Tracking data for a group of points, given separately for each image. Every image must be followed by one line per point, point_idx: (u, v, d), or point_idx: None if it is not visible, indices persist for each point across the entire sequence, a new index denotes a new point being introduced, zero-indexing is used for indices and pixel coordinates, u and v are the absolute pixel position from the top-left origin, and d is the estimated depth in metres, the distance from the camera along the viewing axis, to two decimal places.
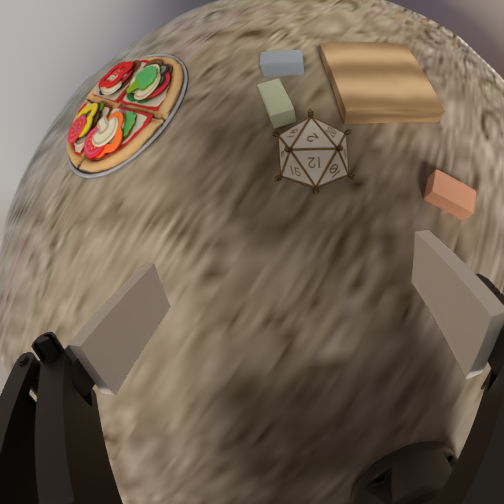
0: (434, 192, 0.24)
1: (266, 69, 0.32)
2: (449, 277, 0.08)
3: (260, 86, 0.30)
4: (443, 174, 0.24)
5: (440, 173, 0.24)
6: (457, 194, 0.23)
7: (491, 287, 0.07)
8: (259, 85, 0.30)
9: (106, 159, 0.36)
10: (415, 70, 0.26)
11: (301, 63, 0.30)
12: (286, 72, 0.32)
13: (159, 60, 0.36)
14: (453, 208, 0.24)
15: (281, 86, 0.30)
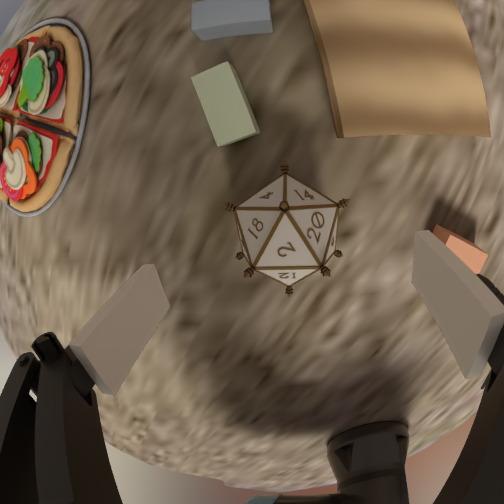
0: None
1: (205, 33, 0.16)
2: (449, 277, 0.08)
3: (197, 81, 0.17)
4: (456, 240, 0.18)
5: (453, 240, 0.18)
6: None
7: (491, 287, 0.07)
8: (195, 79, 0.17)
9: (31, 201, 0.24)
10: (464, 52, 0.11)
11: (267, 21, 0.14)
12: (241, 32, 0.16)
13: (46, 39, 0.15)
14: None
15: (233, 80, 0.17)
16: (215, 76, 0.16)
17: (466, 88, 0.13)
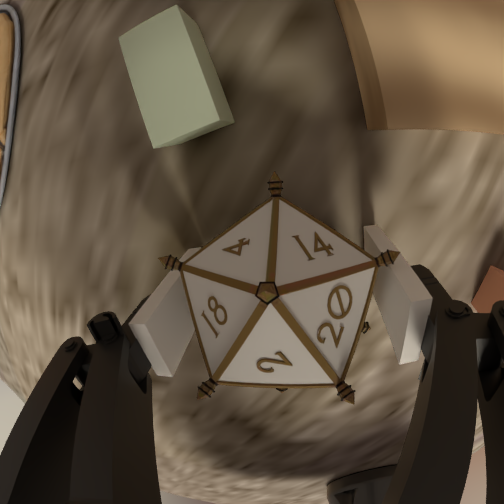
0: None
1: None
2: (384, 267, 0.09)
3: (127, 42, 0.08)
4: None
5: None
6: None
7: (430, 277, 0.08)
8: (124, 39, 0.08)
9: None
10: None
11: None
12: None
13: None
14: None
15: (182, 32, 0.08)
16: (154, 30, 0.08)
17: None
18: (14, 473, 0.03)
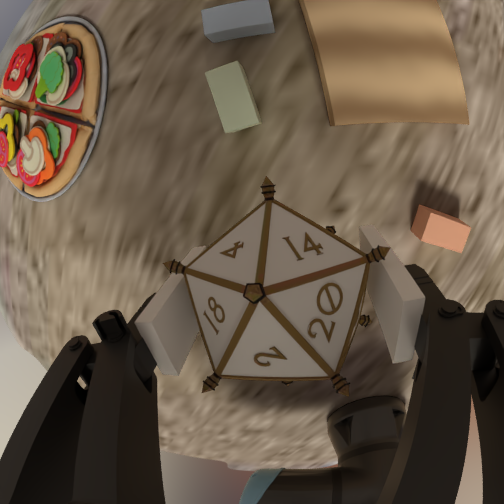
0: (423, 241, 0.23)
1: (216, 36, 0.19)
2: (378, 266, 0.10)
3: (210, 76, 0.19)
4: (438, 217, 0.21)
5: (434, 217, 0.22)
6: (448, 237, 0.22)
7: (424, 277, 0.09)
8: (208, 74, 0.19)
9: (48, 186, 0.27)
10: (445, 49, 0.14)
11: (270, 23, 0.17)
12: (247, 34, 0.19)
13: (62, 35, 0.17)
14: None
15: (241, 77, 0.19)
16: (226, 73, 0.19)
17: (445, 81, 0.16)
18: (16, 473, 0.03)
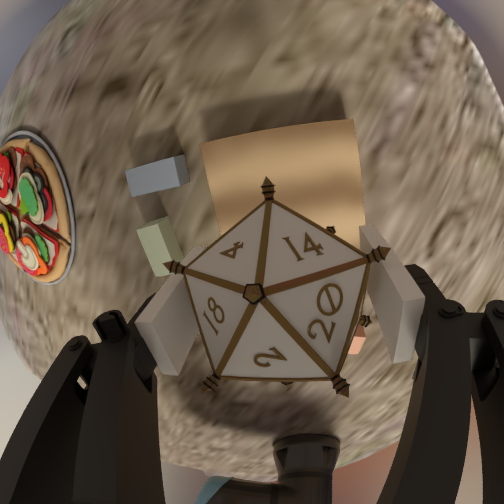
0: None
1: None
2: (378, 266, 0.10)
3: (140, 234, 0.28)
4: None
5: None
6: None
7: (424, 277, 0.09)
8: (138, 232, 0.28)
9: (44, 277, 0.36)
10: (349, 190, 0.23)
11: None
12: None
13: (29, 160, 0.27)
14: None
15: (161, 238, 0.28)
16: (150, 233, 0.28)
17: (342, 227, 0.25)
18: (16, 473, 0.03)
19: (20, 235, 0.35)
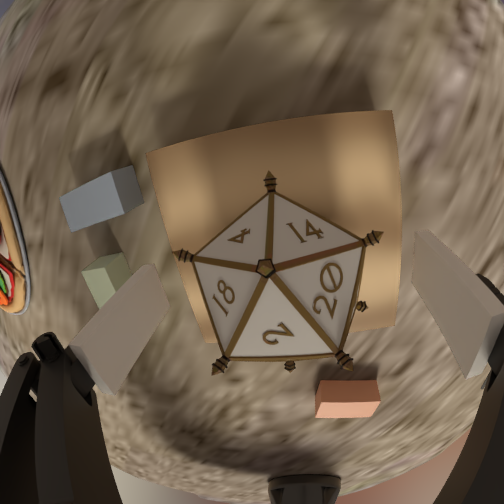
0: (319, 417, 0.23)
1: None
2: (449, 277, 0.08)
3: (86, 277, 0.19)
4: (331, 403, 0.22)
5: (327, 404, 0.22)
6: (349, 412, 0.22)
7: (491, 287, 0.07)
8: (84, 274, 0.19)
9: (7, 308, 0.27)
10: (382, 227, 0.14)
11: (124, 213, 0.17)
12: None
13: None
14: None
15: (111, 286, 0.19)
16: (98, 278, 0.19)
17: (367, 281, 0.16)
18: None
19: None
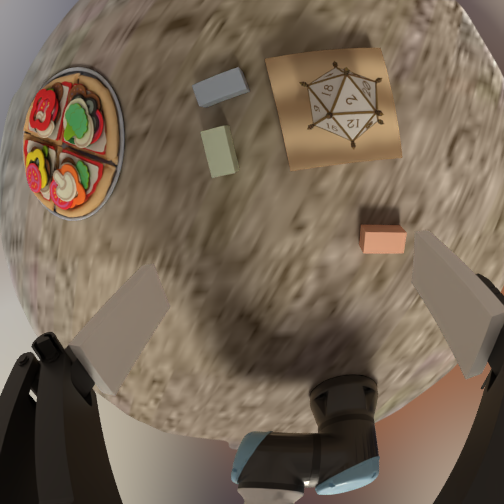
0: None
1: (207, 104, 0.30)
2: (449, 277, 0.08)
3: (204, 135, 0.30)
4: (373, 234, 0.33)
5: (370, 234, 0.33)
6: (386, 245, 0.33)
7: (491, 287, 0.07)
8: (202, 133, 0.30)
9: (79, 209, 0.38)
10: (383, 97, 0.25)
11: (245, 89, 0.27)
12: (230, 97, 0.30)
13: (81, 88, 0.28)
14: None
15: (225, 139, 0.30)
16: (215, 134, 0.30)
17: (381, 126, 0.26)
18: None
19: (55, 171, 0.37)
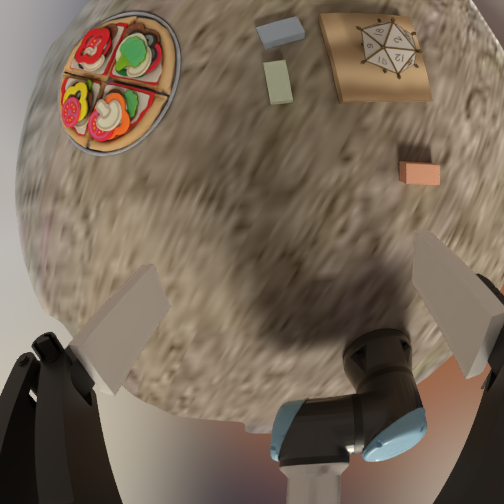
0: (408, 183, 0.33)
1: (269, 44, 0.29)
2: (449, 277, 0.08)
3: (266, 66, 0.30)
4: (412, 165, 0.32)
5: (410, 165, 0.32)
6: (425, 176, 0.32)
7: (491, 287, 0.07)
8: (265, 64, 0.30)
9: (119, 140, 0.38)
10: None
11: (303, 33, 0.27)
12: (287, 41, 0.29)
13: (140, 26, 0.28)
14: None
15: (286, 70, 0.30)
16: (277, 66, 0.29)
17: (414, 73, 0.26)
18: None
19: (95, 105, 0.36)
